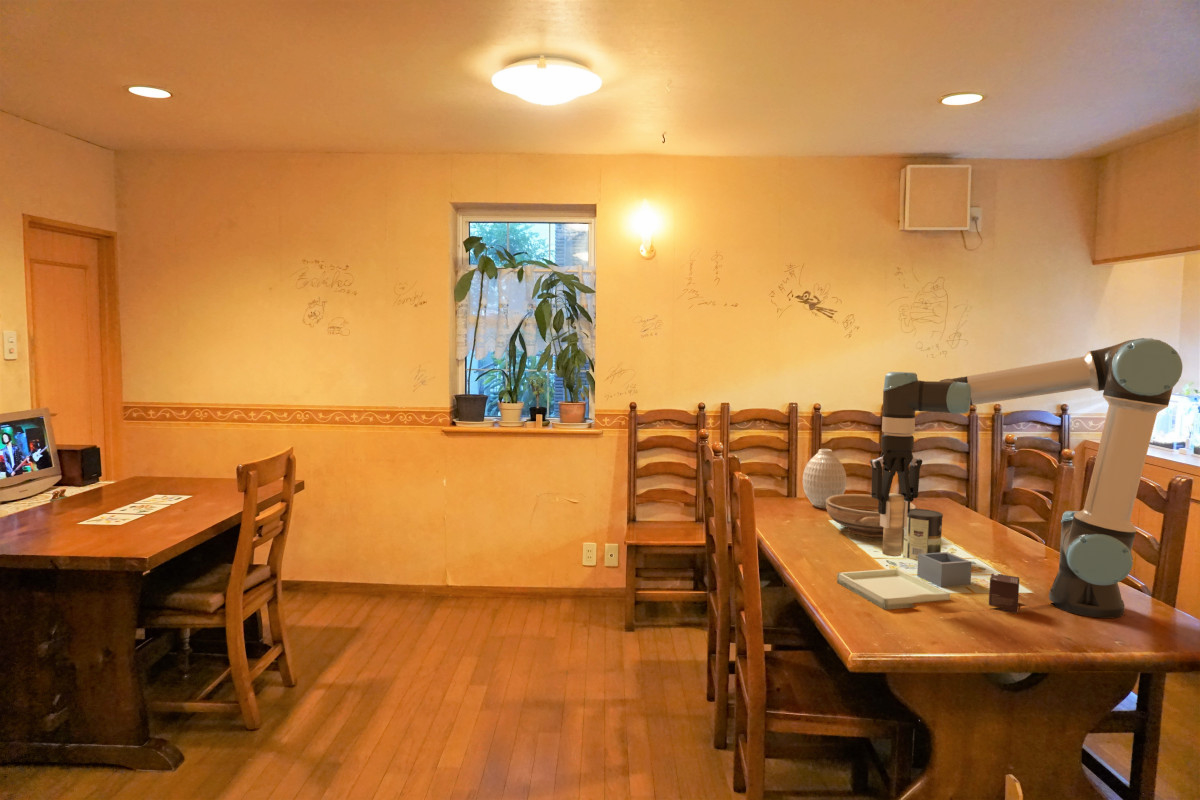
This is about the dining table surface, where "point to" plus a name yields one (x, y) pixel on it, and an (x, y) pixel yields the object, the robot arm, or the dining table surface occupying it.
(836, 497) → the ceramic bowl
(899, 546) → the dowel
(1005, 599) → the box
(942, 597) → the tray
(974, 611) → the dining table surface
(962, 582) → the grey square bin
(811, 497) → the vase
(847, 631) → the dining table surface
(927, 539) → the coffee can
